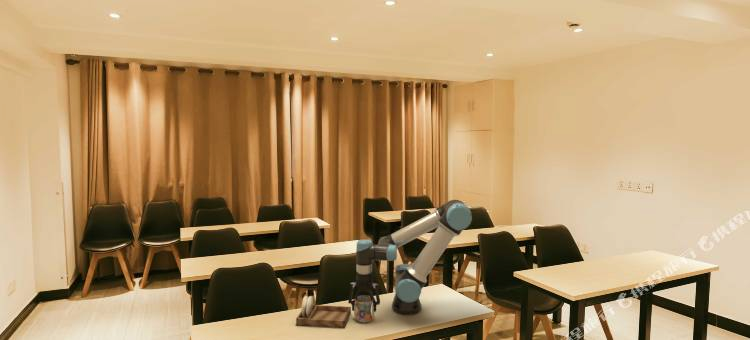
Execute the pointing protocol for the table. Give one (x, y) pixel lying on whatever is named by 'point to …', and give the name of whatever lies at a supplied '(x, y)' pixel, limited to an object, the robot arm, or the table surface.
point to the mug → (363, 309)
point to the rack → (325, 317)
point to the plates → (307, 306)
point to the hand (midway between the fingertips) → (364, 317)
